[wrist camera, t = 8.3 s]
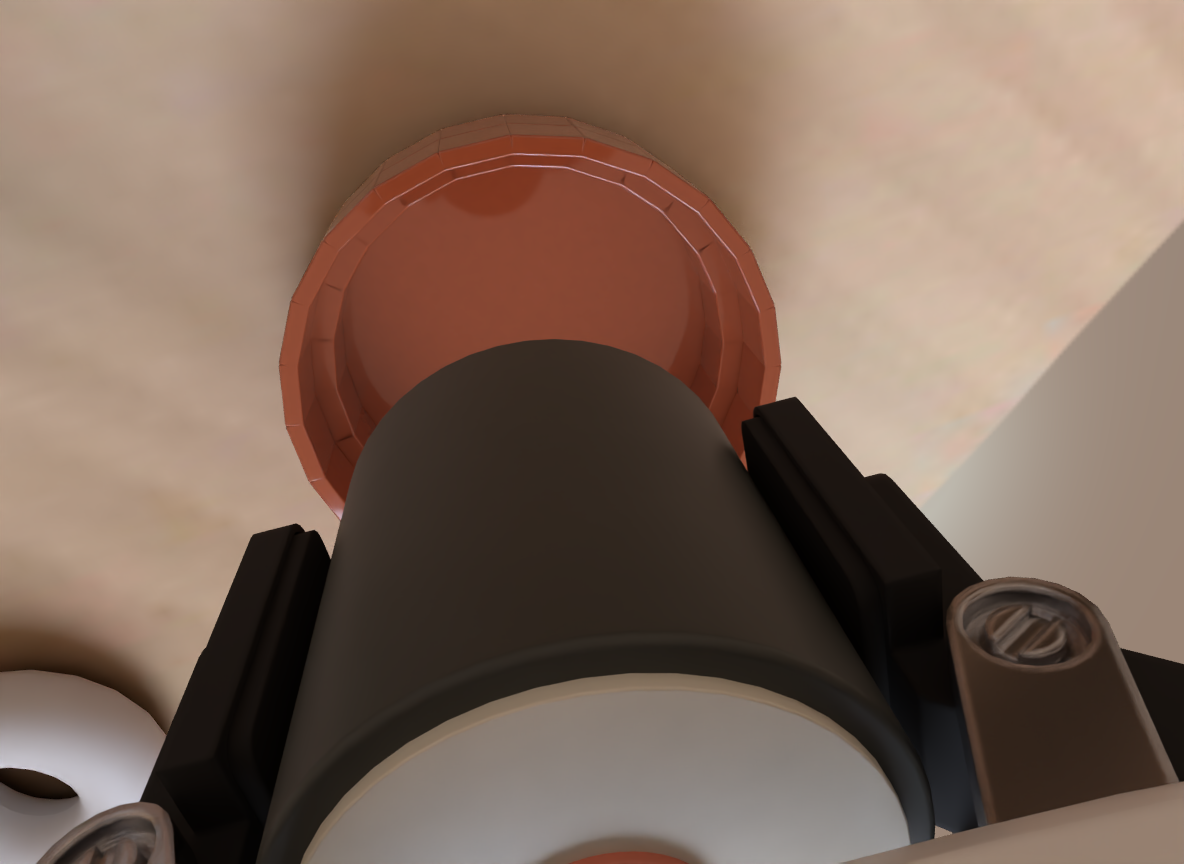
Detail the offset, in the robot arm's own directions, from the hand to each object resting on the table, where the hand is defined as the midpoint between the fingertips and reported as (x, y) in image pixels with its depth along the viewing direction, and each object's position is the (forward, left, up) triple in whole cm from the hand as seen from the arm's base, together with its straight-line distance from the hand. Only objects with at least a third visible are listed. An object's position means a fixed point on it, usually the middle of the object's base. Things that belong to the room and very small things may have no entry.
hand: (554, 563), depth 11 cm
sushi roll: (0, 0, -1) cm, 1 cm away
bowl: (+3, 0, -18) cm, 18 cm away
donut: (+15, -22, -18) cm, 32 cm away
